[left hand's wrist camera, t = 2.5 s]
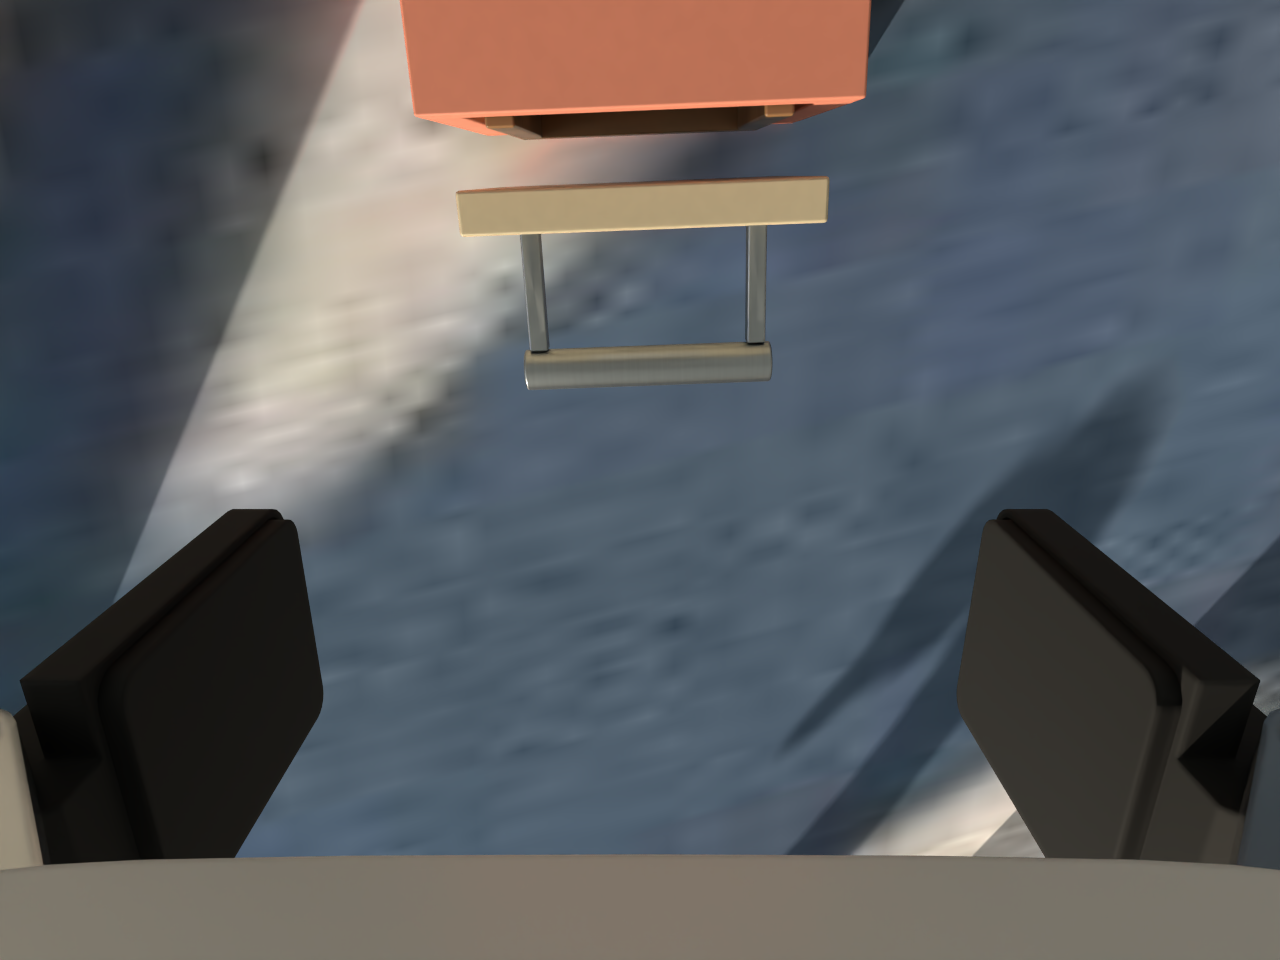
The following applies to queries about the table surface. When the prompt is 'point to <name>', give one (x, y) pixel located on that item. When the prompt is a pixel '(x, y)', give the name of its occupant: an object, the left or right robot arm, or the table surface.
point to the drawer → (643, 210)
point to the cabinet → (631, 56)
